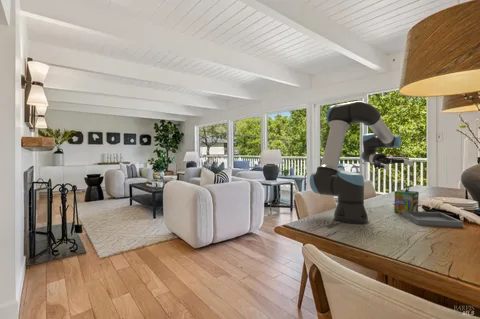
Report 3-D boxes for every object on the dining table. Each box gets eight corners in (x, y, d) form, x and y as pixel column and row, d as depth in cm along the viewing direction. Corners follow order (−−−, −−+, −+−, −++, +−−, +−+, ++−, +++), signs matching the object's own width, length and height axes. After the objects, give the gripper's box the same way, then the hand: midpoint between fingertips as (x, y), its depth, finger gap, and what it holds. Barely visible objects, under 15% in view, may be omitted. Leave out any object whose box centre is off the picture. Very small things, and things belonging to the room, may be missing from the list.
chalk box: (399, 209, 142) (399, 183, 141) (418, 212, 135) (419, 185, 134) (393, 212, 136) (393, 185, 135) (413, 215, 129) (413, 187, 128)
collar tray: (417, 225, 111) (417, 219, 111) (402, 215, 128) (402, 210, 128) (462, 227, 107) (462, 221, 107) (441, 217, 124) (441, 212, 124)
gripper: (398, 161, 158) (423, 168, 137) (359, 168, 158) (378, 176, 137) (397, 150, 157) (422, 155, 136) (358, 156, 157) (377, 162, 136)
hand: (400, 165), depth 137 cm, fingers open, 13 cm apart
